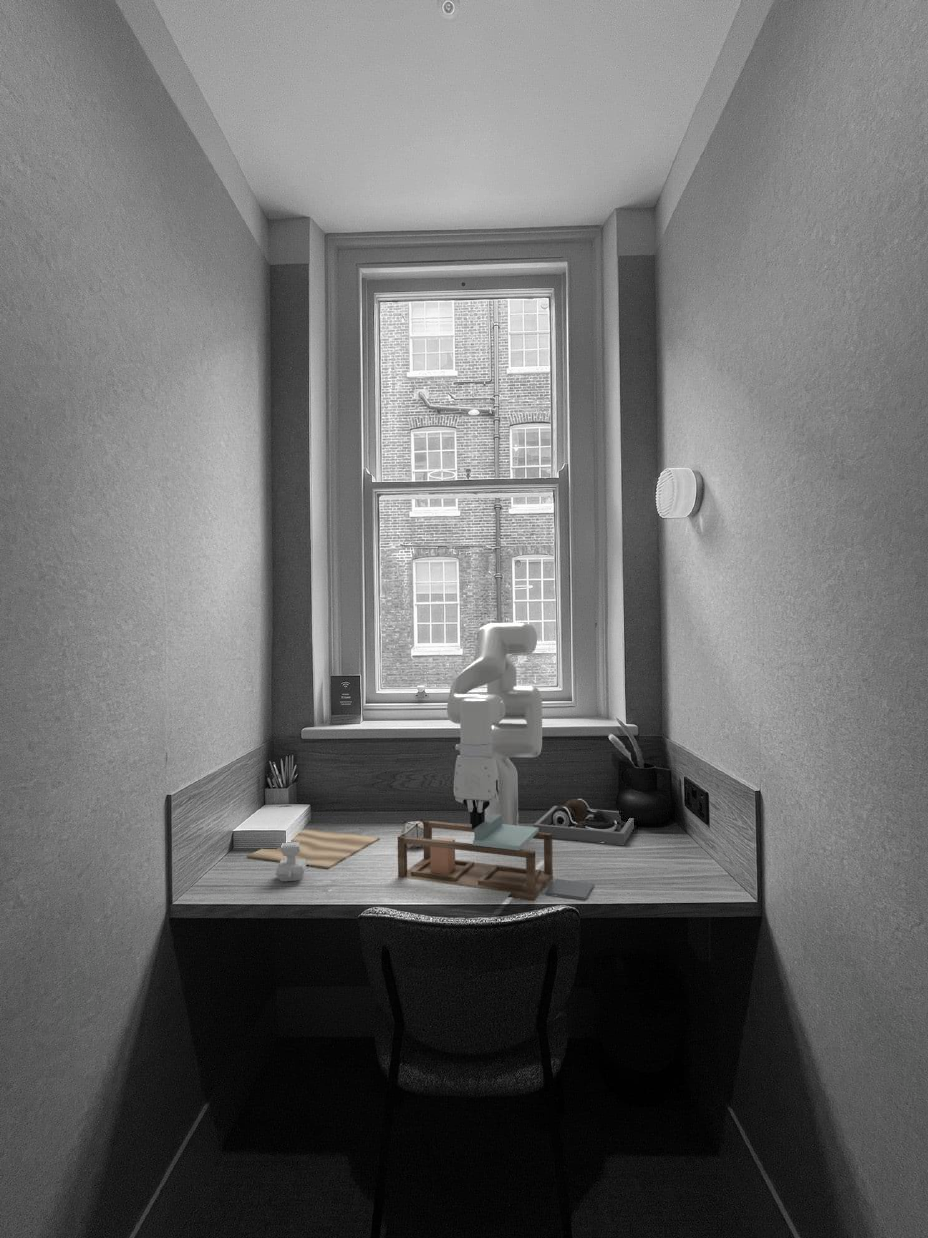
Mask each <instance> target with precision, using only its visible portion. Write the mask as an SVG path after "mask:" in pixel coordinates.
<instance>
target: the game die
mask: <svg viewBox="0 0 928 1238" xmlns="http://www.w3.org/2000/svg"><path fill="white" fill-rule="evenodd" d="M423 820H424V818H423V817H422V818H421V819H420V820H416V821H415V820H414V821H413V820H412V821H406V820H405V819H403V822H404V825H403V828H402V831H401V833H400V835H399V836H408V837H417V838H424V835H423V822H424V821H423ZM399 836H397V839H398V837H399ZM415 848H424V846H422V845H414V844H407V849H415Z"/></svg>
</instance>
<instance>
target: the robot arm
mask: <svg viewBox="0 0 928 1238" xmlns="http://www.w3.org/2000/svg"><path fill="white" fill-rule="evenodd" d="M476 642H477V643H476V647H475V652H474V657H473V662H472V663H470V664H469V665H467V667H465V668H464V669H463V670H462V671H461V672H460V673H458V674H457V675H456V676H455V678H454V679H453V681H452V683H451V686H450V691H449V694H448V698H447V703H446V704H447V706H446V712H447V717H448V719H449V721H450V722H452V723H453V724H457V725H459V727H460V730H459V731H460V735H459V736H460V742H459V743H457V744H455V746H454V747H455V751H459V755H457V756H456V759H455V760H456V761H455V767H454V776H453V777H454V778H453V796H454V797H455V799H454V800H455V801H456V802H458V803H461V804H464V806H465V807H466V808H467V810H468V812H469V817H470V818H469V819H470V823H469V825H472V829H474V828H476V827H477V826H479V825H480V824H481V823H483V822H484V821H485V820H487V819H488V818H489V817H491V816H492V815H493V814H497V815H502V824H506V825H516V826H519V817H520V815H519V797H518V796H519V791H518V790H519V788H518V787H519V785H518V784H519V781H518V775H519V774H518V771H517V768H516V765H514V763H513V762H512V761H511V760H510V758H536V757H538V756H539V755H541V752H542V748H543V699H542V694H541V692H540V690H539V688H537V687H536V686H533V685H532V686H531V685H517V668H516V666H515V665H514V662H512V660H511V659H510V658H509V657H508V655H512V654H513V655H522V654H523V655H531V654H533V653H534V652H535V650H536V648H537V645H538V644H537V642H538V635H537V631H536V629H535V627H534V626H533V625H532V624H530V623H522V622H500V623H499V622H495V623H494V622H493V623H492V622H491V623H488V624H485V625H483V626H481V627H479V628H478V629H477V632H476ZM485 685H486V687H487V688H486V693H469V692H470V691H472V690H474V689H476V688H479V687H482V686H485ZM504 719H507V720H509V719H511V720H512V719H513V720H514V719H515V720H517V719H518V720H520V719H521V720H524V721H525V722H526V723H512V722H511V723H510V722H505V723H504V722H502V720H504ZM477 801H478V803H477Z"/></svg>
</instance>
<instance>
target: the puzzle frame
mask: <svg viewBox="0 0 928 1238" xmlns="http://www.w3.org/2000/svg"><path fill="white" fill-rule="evenodd" d="M422 823H423V835H424V838H417V837H408V836H401V835H399V837H398V836H397V837H398V838H397V877H398V878H405V879H412V880H418V881H419V880H420V881H425V882H432V883H433V882H434V883H441V884H447V885H455V886H461V887H468V888H477V889H484V890H490V891H492V890H493V891H497V892H498V891H499V892H505V893H510V894H508V895H507V898H510V897H513V898H512V899H517V898H520V899H519V900H524V899H525V900H526V901H531V900H532V902H534V901H535V900H536V899H535V898H538V896H539V895H540V894H541V892H542V891H543V890H544V889H545V887H546V886H547V885H548V884H549V882H551V880H552V879H551V878H553V877H554V872H553V871H554V869H553V863H554V862H553V859H554V858H553V838H552V833H544V832H538V833H537V834H536V835H535V836H534V837H533V838H532V839H535V840H543V866H544V867H543V868H544V869H543V870H540V869H536V850H529V849H523V848H521V849H520V850H519V851H518V850H510V849H501V848H492V847H483V846H475V845H473V843H469V842H460V841H455V842H452V841H444V840H435V839H436V838H433V829H442V830H451V831H460V832H469V833H470V832H471V833H474V829H472V824H465V823H455V822H445V821H435V820H425V821H422ZM407 844H414V845H422V846H423V858H422V859H421V860H419V861H418V862H416V863H415V864H413V865H412V866H411V867H409V868H408V848H407ZM430 846H431V847H439V848H447V849H455V851H456V850H457V851H466V852H475V853H481V854H482V853H483V854H491V855H499V856H506V857H507V856H508V857H517V858H525V867H526V868H524V867H516V866H508V865H502V864H491V863H490V864H489V863H481V862H474V861H468V860H460V859H455V869H454V870H452V871H451V872H450V873H449V874H442V873H435V872H431V863H430ZM547 883H548V884H547ZM543 888H544V889H543ZM539 893H540V894H539Z"/></svg>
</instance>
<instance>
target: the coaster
mask: <svg viewBox="0 0 928 1238" xmlns="http://www.w3.org/2000/svg"><path fill="white" fill-rule="evenodd" d="M594 887H595V883H593V882H586V881H578V880H577V881H576V880H571V879H563V878H554V880H553V881H552V883H551V884H550V885H549V887H548V888H547V889H546V890H545V891H544V892H545V894H546V896H551V895H557V896H556V897H558V896H561V897H560V898H566V897H568V898H567V899H573V898H575V900H582V901H586V900H587V898H588V897H589V895H590V893H591V892H592V890H593V889H594ZM592 888H593V889H592Z"/></svg>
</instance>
